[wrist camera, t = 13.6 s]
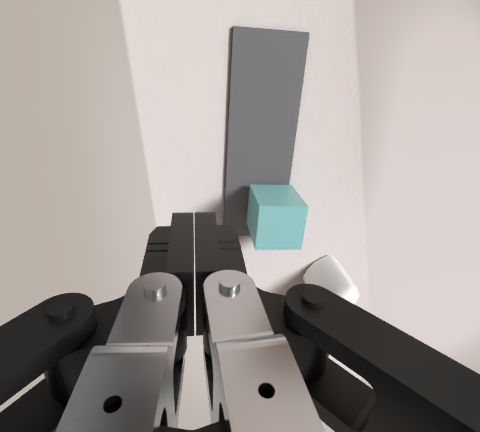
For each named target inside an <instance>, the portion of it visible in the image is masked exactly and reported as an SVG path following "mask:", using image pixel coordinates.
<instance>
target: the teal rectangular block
mask: <svg viewBox="0 0 480 432" xmlns="http://www.w3.org/2000/svg"><path fill="white" fill-rule="evenodd" d="M307 211H308V206H307V204H306V203H305V202H304V201H303V199H302V198H301V197H300V195H299V194H298V193H297V192H296V190H295V189H294V188H293V186H292V185H260V184H250V188H249V200H248V212H247V226H248V229H249V232H250V235H251V238H252V241H253V244H254V247H255V250H292V249H301V247H302V241H303V235H304V229H305V223H306V217H307Z"/></svg>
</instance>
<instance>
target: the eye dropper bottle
mask: <svg viewBox="0 0 480 432" xmlns="http://www.w3.org/2000/svg"><path fill="white" fill-rule="evenodd" d="M303 280H304V282H305V284H315V285H319V286H321V287H324V288H326V289H328V290H329V291H331V292H333V293H335V294H337V295H338V296H340V297H342V298H344V299H346V300H347V301H349V302H351V303H353V304H356V302H357V300H358V298H359V291H358V289H357V287H356V286H355V284H354V283H353V281H352V280H351V279H350V277H349V276H348V274H347V273H346V272H345V270H344V269H343V267H342V266H341V265H340V263H339V262H338V261H337V260H336V259H335V258H334V257H333V256H331V255H327V256H324V257H322V258H320V259H319V260H317V261H315V262H314V263H313V264H312V265H311V266H310V267H309V268H308V269H307V270H306V272H305V274H304V276H303Z"/></svg>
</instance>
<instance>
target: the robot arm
mask: <svg viewBox="0 0 480 432" xmlns="http://www.w3.org/2000/svg"><path fill="white" fill-rule="evenodd" d="M195 274H196V335H203V344H204V367H205V375H206V383H207V391H208V399H209V408H210V416H211V424H210V425H207V426H205V427H202V428H199V429H196V430H184V429H179V428H177V426H178V425H177V424H178V415H179V407H180V399H181V390H182V381H183V373H184V364H185V352H186V349H187V336H194V237H193V213H173V214H172V221H171V226H161V227H157V228H155V229H154V230H153V231H152V232H151V234H150V235H149V239H148V243H147V247H146V252H145V256H144V260H143V264H142V268H141V273H140V277H139V278H137V279H135V280H134V281H133V282H132V283H131V284H130V285H129V287H128V289H127V292H126V295H125V296H123V297H121V298H118V299H116V300H113V301H109V302H105V303H102V304H98V305H94V303H93V301H92V299H91V298H90V297H88V296H86V295H84V294H81V293H65V294H60V295H57V296H54V297H51V298H49V299H47V300H45V301H43V302H41V303H40V304H38V305H36V306H34V307H33V308H31V309H29V310H28V311H26V312H24V313H22V314H21V315H19V316H17V317H16V318H14V319H12V320H10V321H9V322H7V323H5V324H3V325H2V326H0V405H2V404H3V403H4V402H6V401H7V400H8V399H10V398H11V397H12V396H13V395H15V394H16V393H18V392H19V391H20V390H22V389H23V388H24V387H26V386H27V385H28V384H29V383H31V382H32V381H33V380H35V379H36V378H37V377H39V376H40V375H41V374H43V373H44V376H45V378H44V379H43V380H42V381H41V382H39V383H38V384H37V385H36V386H34V387H33V388H32V389H30V390H29V391H28V392H26V393H25V394H24V395H22V396H21V397H20V398H19V399H17V400H16V401H15V402H13V403H12V404H11V405H10V406H8V407H7V408H6V409H4V410H3V411H2V412H0V432H325V430H324V428H323V425H322V423H321V420H322V421H323V422H324V423H325V424H326V425H328V426H329V427H330V428H331V429H332V430H334V431H335V432H480V374H478V373H476V372H474V371H473V370H471V369H469V368H467V367H465V366H464V365H462V364H460V363H458V362H457V361H455V360H453V359H451V358H449V357H448V356H446V355H444V354H442V353H440V352H439V351H437V350H435V349H433V348H431V347H430V346H428V345H426V344H424V343H423V342H421V341H419V340H417V339H415V338H414V337H412V336H410V335H408V334H406V333H404V332H403V331H401V330H399V329H397V328H396V327H394V326H392V325H390V324H389V323H387V322H385V321H383V320H381V319H379V318H378V317H376V316H374V315H372V314H371V313H369V312H367V311H365V310H363V309H362V308H360V307H358V306H356V305H355V304H353V303H351V302H349V301H347V300H346V299H344V298H342V297H340V296H338V295H337V294H335V293H333V292H331V291H329V290H328V289H326V288H324V287H321V286H319V285H315V284H298V285H295V286H293V287H291V288H290V289H289V290H288V291H287V293H286V296H284V295H278V294H273V293H269V292H266V291H263V290H261V289H259V288H257V287H256V286H255V283H254V281H253V280H252V278H251V277H249V276H248V275H247V272H246V267H245V263H244V259H243V255H242V251H241V246H240V242H239V238H238V234H237V232H236V231H235V230H234V229H233V228H232V227H231V226H230V225H217V224H216V217H215V212H195ZM329 354H330V355H331V356H333V357H334V358H335V359H337V360H338V361H340V362H341V363H343V364H344V365H345V366H347V367H348V368H350V369H351V370H353V371H354V372H356V373H357V374H358V375H360V376H361V377H363V378H364V379H365V380H366V381H368V382H369V383H370V385H371V386H372V387H373V389H374V390H373V389H372V388H370V387H369V386H367V385H366V384H365V383H363V382H362V381H360V380H359V379H358V378H356V377H355V376H353V375H352V374H350V373H349V372H348V371H346V370H345V369H343V368H342V367H340V366H339V365H338V364H336V363H335V362H333V361H332V360H331V359H329V358H328V356H329ZM320 419H321V420H320Z"/></svg>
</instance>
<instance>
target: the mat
mask: <svg viewBox="0 0 480 432" xmlns="http://www.w3.org/2000/svg"><path fill="white" fill-rule="evenodd" d="M308 41H309V33H308V32H297V31H285V30H273V29H262V28H250V27H238V26H233V35H232V56H231V78H230V99H229V121H228V142H227V164H226V185H225V207H224V225H230V226H231V227H232V228H233V229H234V230H235V231H236V232H237V234H238V235H250V232H249V229H248V226H247V212H248V200H249V188H250V184H260V185H289V181H290V174H291V167H292V159H293V152H294V144H295V137H296V130H297V122H298V115H299V107H300V100H301V92H302V85H303V78H304V70H305V63H306V55H307V48H308Z"/></svg>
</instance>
